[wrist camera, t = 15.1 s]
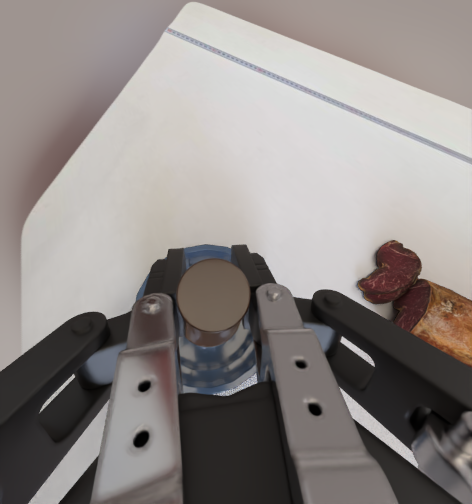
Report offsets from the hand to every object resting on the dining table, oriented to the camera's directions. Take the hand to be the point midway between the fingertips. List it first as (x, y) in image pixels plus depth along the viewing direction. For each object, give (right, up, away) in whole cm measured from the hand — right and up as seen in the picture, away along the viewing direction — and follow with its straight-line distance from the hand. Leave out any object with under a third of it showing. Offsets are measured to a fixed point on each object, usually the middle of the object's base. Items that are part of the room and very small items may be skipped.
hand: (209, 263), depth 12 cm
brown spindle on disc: (-1, -5, +10) cm, 11 cm away
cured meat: (+31, -10, +24) cm, 41 cm away
